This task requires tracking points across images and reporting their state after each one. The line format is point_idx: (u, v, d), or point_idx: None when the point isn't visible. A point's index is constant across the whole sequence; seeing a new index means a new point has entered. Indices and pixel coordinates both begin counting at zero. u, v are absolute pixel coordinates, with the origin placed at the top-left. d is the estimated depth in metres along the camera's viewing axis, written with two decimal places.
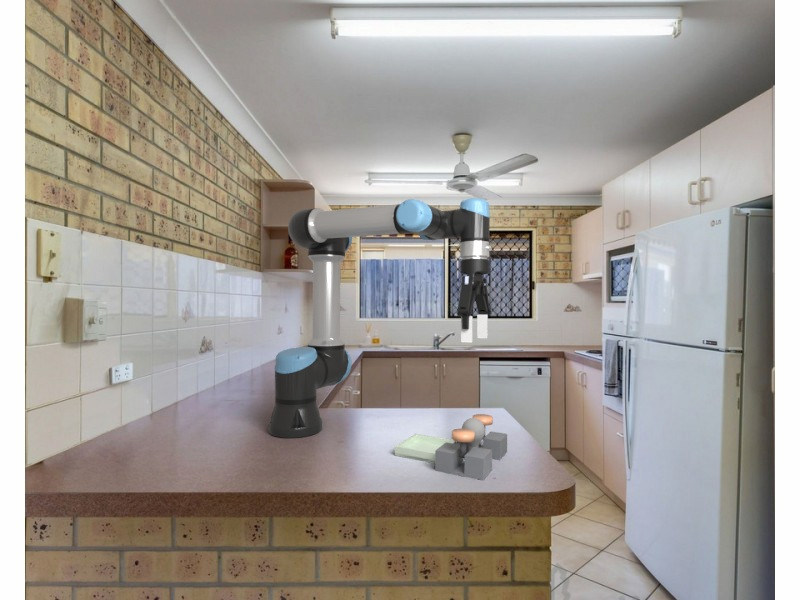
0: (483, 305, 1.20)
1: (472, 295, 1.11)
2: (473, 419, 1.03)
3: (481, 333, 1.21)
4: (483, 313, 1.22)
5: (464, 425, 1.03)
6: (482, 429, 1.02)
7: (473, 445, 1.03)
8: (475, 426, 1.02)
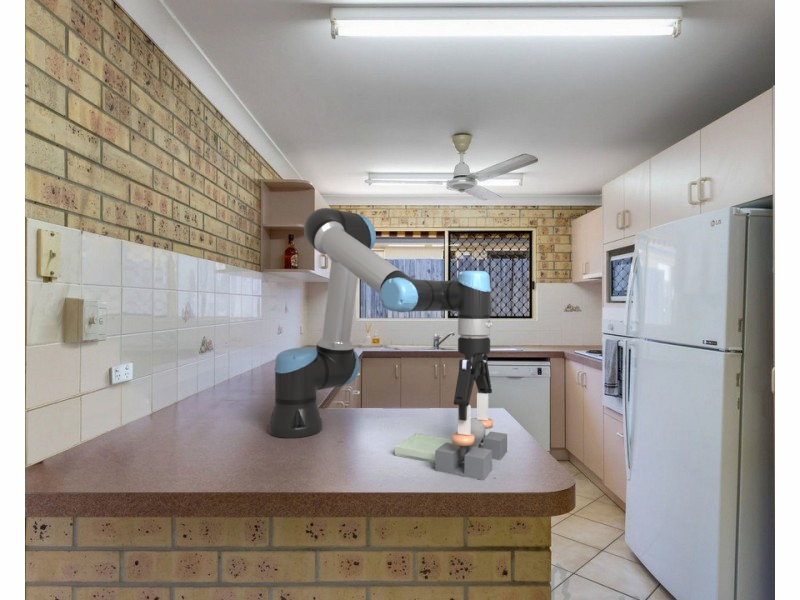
0: (483, 384, 1.08)
1: (470, 380, 0.99)
2: (473, 419, 1.03)
3: (481, 414, 1.10)
4: (483, 392, 1.10)
5: None
6: (482, 429, 1.02)
7: (473, 445, 1.03)
8: (475, 426, 1.02)
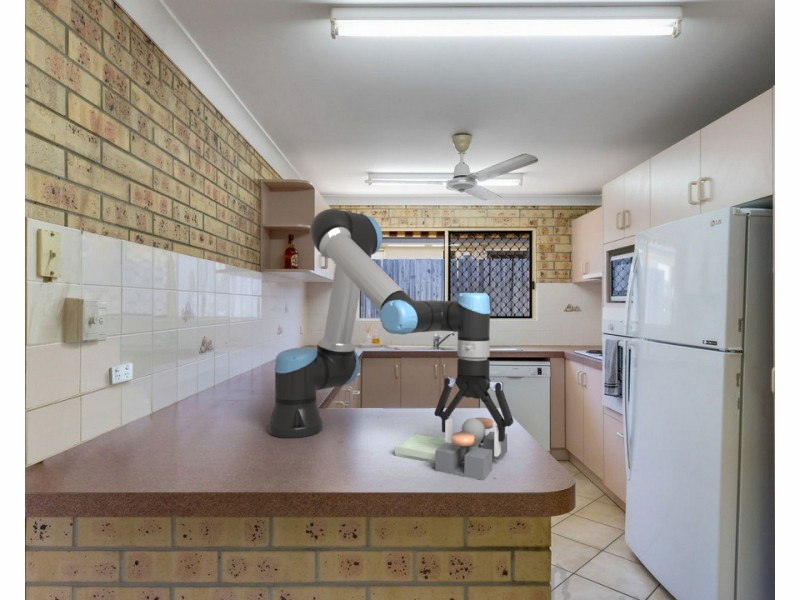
0: None
1: (454, 398, 1.05)
2: (473, 419, 1.03)
3: None
4: None
5: (464, 425, 1.03)
6: (482, 429, 1.02)
7: (473, 445, 1.03)
8: (475, 426, 1.02)
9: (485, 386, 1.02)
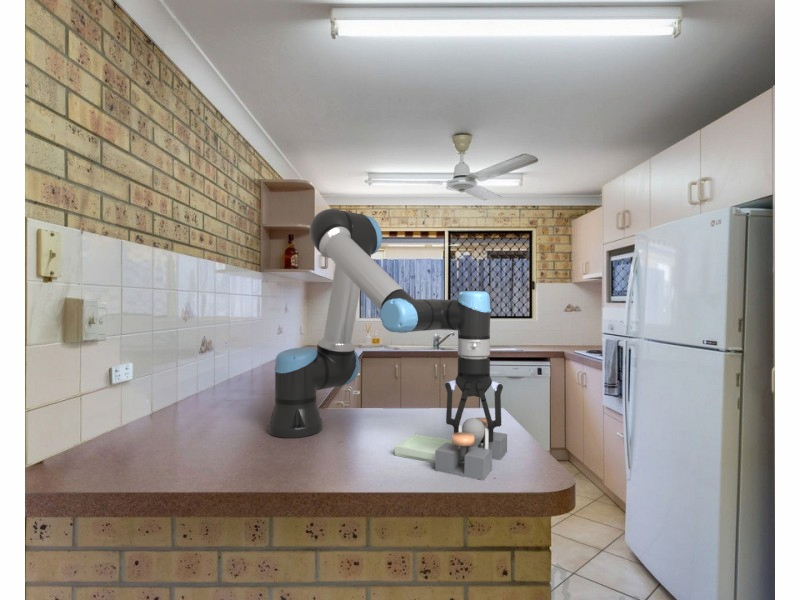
0: None
1: (460, 402, 1.04)
2: (473, 419, 1.03)
3: None
4: None
5: (464, 425, 1.03)
6: (482, 429, 1.02)
7: (473, 445, 1.03)
8: (476, 426, 1.02)
9: (487, 384, 1.03)
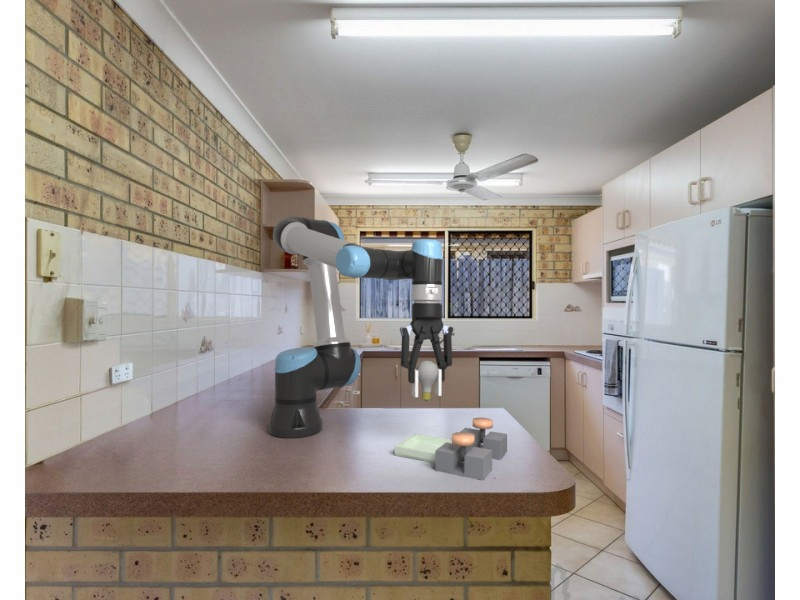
0: (437, 355, 1.10)
1: (416, 346, 1.08)
2: (428, 361, 1.09)
3: (436, 389, 1.11)
4: (439, 366, 1.10)
5: (420, 367, 1.08)
6: (437, 369, 1.09)
7: (428, 385, 1.08)
8: (432, 367, 1.08)
9: (440, 327, 1.10)
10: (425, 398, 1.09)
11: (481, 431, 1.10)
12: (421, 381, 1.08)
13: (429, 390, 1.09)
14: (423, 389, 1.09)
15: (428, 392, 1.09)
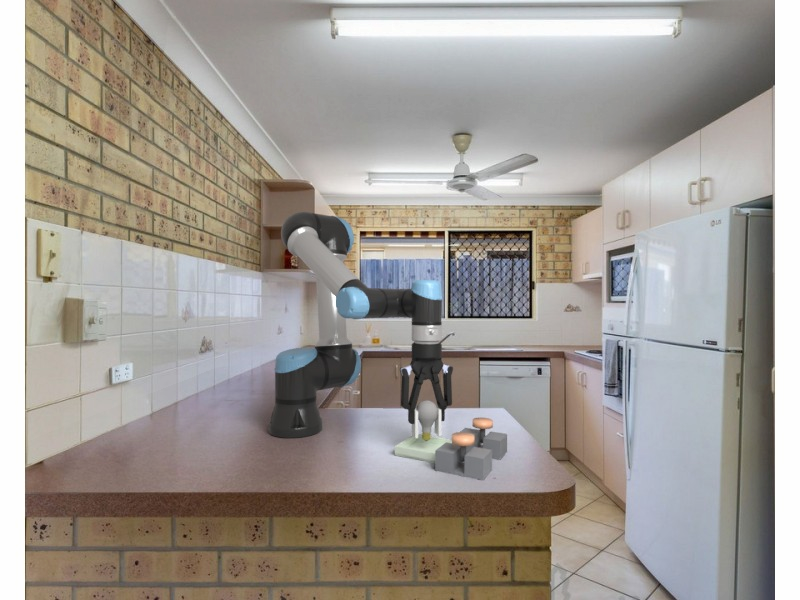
0: (437, 395, 1.10)
1: (415, 386, 1.08)
2: (427, 401, 1.09)
3: (436, 429, 1.11)
4: (439, 406, 1.10)
5: (420, 408, 1.08)
6: (437, 409, 1.09)
7: (428, 426, 1.08)
8: (432, 407, 1.07)
9: (440, 367, 1.10)
10: (425, 438, 1.08)
11: (481, 431, 1.10)
12: (421, 422, 1.08)
13: (429, 430, 1.09)
14: (423, 429, 1.09)
15: (428, 432, 1.08)
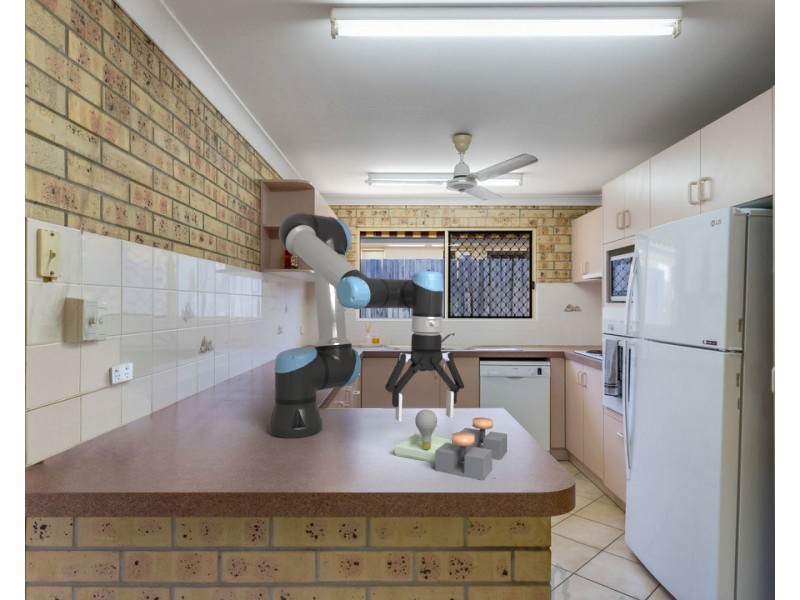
0: (446, 381, 1.11)
1: (408, 372, 1.08)
2: (426, 410, 1.09)
3: (448, 411, 1.12)
4: (451, 389, 1.12)
5: (419, 417, 1.08)
6: (436, 418, 1.09)
7: (428, 435, 1.08)
8: (431, 417, 1.07)
9: (440, 358, 1.10)
10: (425, 447, 1.09)
11: (481, 431, 1.10)
12: (421, 431, 1.08)
13: (429, 439, 1.09)
14: (423, 439, 1.09)
15: (428, 441, 1.09)
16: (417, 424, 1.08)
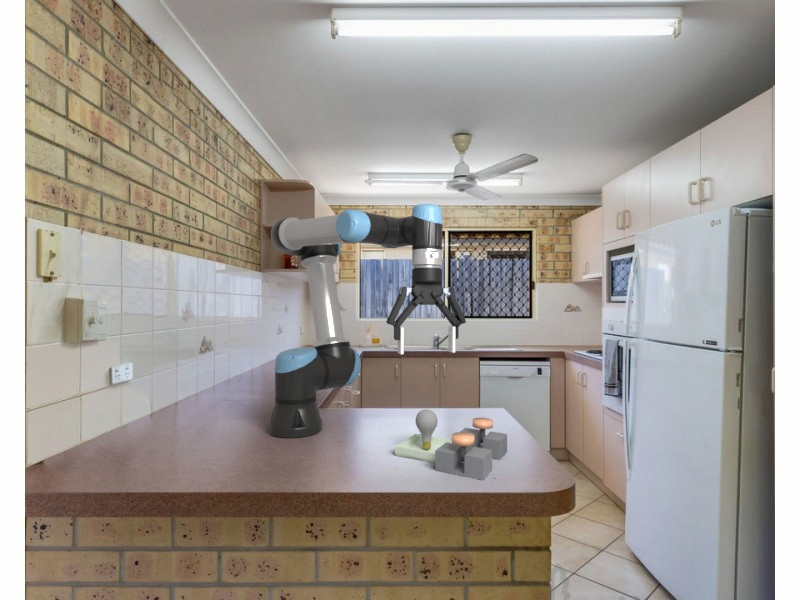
0: (447, 316, 1.11)
1: (409, 306, 1.07)
2: (427, 410, 1.09)
3: (450, 346, 1.12)
4: (453, 325, 1.12)
5: (420, 417, 1.08)
6: (436, 418, 1.09)
7: (428, 435, 1.08)
8: (431, 416, 1.08)
9: (441, 292, 1.10)
10: (425, 447, 1.09)
11: (481, 431, 1.10)
12: (421, 431, 1.08)
13: (429, 439, 1.09)
14: (423, 438, 1.09)
15: (428, 441, 1.09)
16: (417, 424, 1.08)
